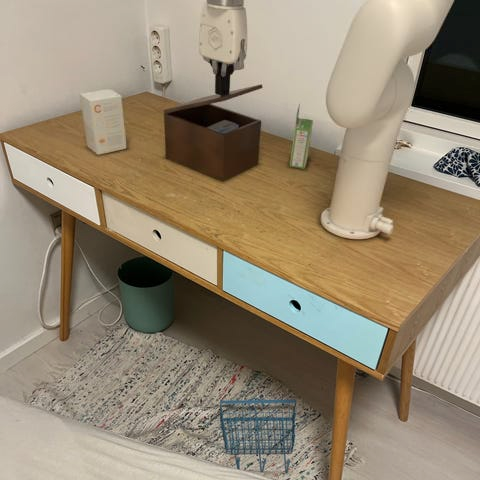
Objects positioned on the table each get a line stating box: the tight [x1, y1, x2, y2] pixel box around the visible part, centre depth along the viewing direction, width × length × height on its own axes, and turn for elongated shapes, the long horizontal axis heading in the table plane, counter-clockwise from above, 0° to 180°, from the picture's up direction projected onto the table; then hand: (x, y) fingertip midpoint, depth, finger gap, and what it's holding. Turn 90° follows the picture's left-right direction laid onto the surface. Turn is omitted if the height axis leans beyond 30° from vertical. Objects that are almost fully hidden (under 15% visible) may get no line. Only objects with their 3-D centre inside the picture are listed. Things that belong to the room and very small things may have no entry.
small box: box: [79, 88, 127, 156], centre depth 124 cm, size 8×6×13 cm
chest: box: [163, 103, 262, 182], centre depth 122 cm, size 19×14×11 cm
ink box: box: [289, 103, 314, 170], centre depth 123 cm, size 7×4×13 cm, turn 168°
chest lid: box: [163, 83, 263, 114], centre depth 116 cm, size 19×14×1 cm
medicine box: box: [207, 120, 239, 134], centre depth 121 cm, size 8×4×9 cm, turn 144°
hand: (222, 93), depth 113 cm, fingers closed
